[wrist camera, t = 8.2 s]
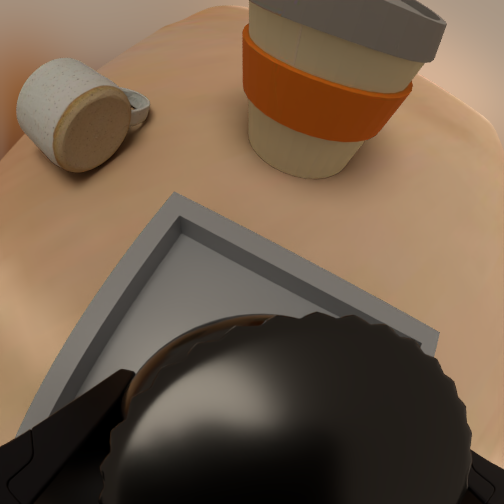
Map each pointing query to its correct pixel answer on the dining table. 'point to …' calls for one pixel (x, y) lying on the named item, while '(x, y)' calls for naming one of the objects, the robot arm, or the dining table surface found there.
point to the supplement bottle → (289, 418)
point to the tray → (197, 298)
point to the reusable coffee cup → (329, 75)
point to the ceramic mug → (77, 113)
